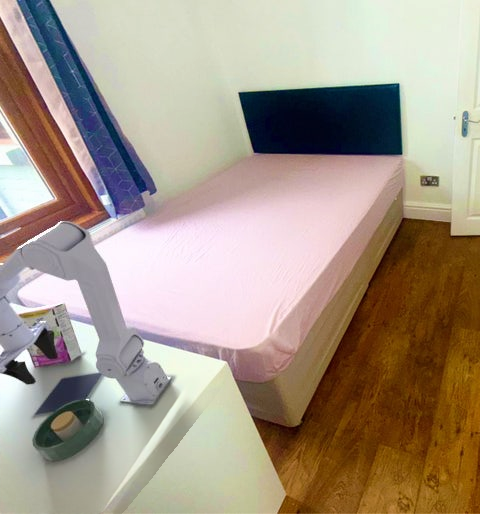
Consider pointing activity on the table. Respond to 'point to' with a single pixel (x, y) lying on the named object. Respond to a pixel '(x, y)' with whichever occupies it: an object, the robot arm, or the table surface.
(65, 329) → the candy bar box
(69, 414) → the cream jar
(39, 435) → the bowl
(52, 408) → the napkin
